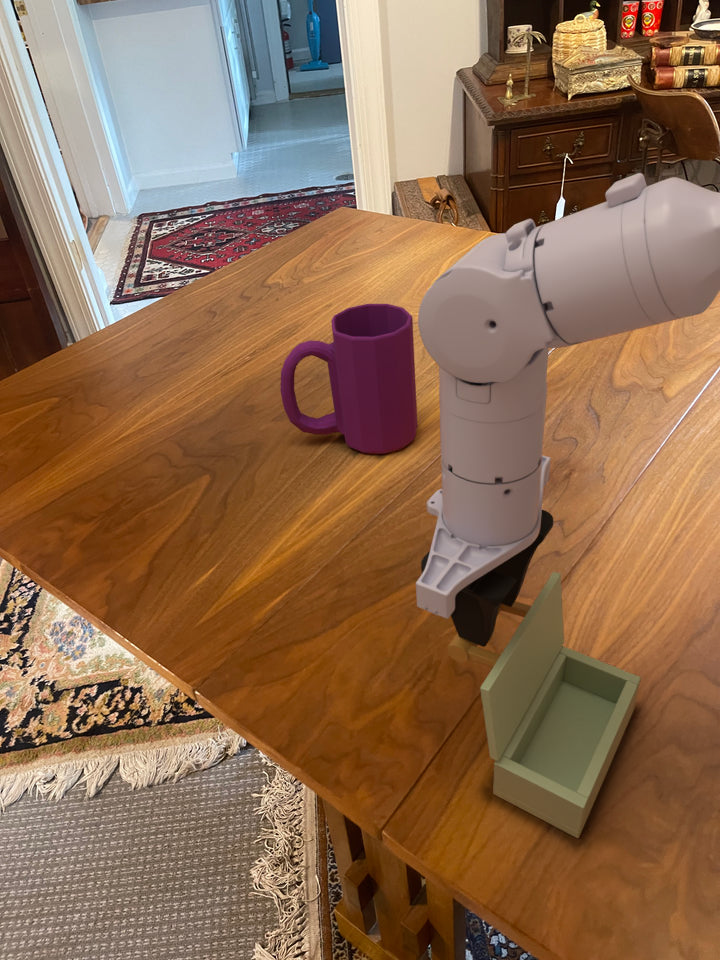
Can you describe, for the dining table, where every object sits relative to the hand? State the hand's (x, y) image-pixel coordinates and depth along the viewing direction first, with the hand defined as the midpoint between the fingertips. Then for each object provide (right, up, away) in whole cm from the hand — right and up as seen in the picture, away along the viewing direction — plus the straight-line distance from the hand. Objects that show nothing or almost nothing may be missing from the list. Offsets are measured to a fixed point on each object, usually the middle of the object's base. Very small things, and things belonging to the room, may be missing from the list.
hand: (486, 618), depth 50 cm
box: (+6, -10, +3) cm, 12 cm away
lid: (+3, -3, 0) cm, 4 cm away
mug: (-9, +14, +38) cm, 42 cm away
